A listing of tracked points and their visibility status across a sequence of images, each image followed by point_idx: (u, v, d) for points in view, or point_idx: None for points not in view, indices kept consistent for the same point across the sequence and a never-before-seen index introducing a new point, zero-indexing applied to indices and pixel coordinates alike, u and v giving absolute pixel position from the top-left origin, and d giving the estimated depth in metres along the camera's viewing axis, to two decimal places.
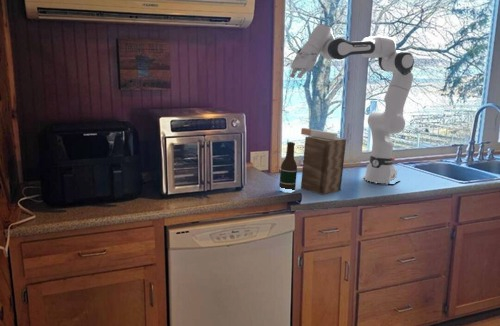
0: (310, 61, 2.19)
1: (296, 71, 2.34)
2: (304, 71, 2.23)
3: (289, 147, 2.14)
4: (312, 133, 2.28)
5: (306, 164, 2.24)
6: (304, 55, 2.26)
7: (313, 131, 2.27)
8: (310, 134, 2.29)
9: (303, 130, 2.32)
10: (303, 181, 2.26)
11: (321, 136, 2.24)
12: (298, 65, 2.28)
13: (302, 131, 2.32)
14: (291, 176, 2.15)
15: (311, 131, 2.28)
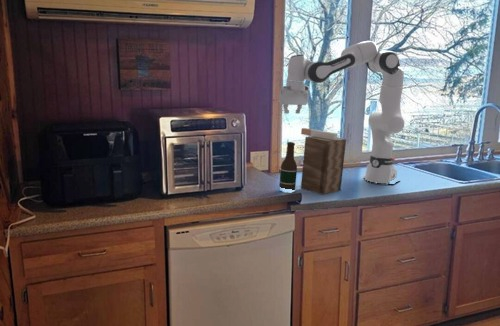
0: (280, 96, 2.29)
1: (300, 106, 2.40)
2: (285, 106, 2.32)
3: (289, 147, 2.14)
4: (312, 133, 2.28)
5: (306, 164, 2.24)
6: None
7: (313, 131, 2.27)
8: (310, 134, 2.29)
9: (303, 130, 2.32)
10: (303, 181, 2.26)
11: (321, 136, 2.24)
12: None
13: (302, 131, 2.32)
14: (291, 176, 2.15)
15: (311, 131, 2.28)
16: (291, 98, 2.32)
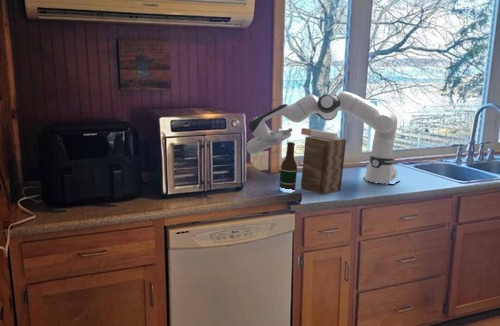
0: (263, 138, 2.40)
1: (286, 130, 2.48)
2: (272, 132, 2.39)
3: (289, 147, 2.14)
4: (312, 133, 2.28)
5: (306, 164, 2.24)
6: (270, 141, 2.47)
7: (313, 131, 2.27)
8: (310, 134, 2.29)
9: (303, 130, 2.32)
10: (303, 181, 2.26)
11: (321, 136, 2.24)
12: (278, 137, 2.45)
13: (302, 131, 2.32)
14: (291, 176, 2.15)
15: (311, 131, 2.28)
16: None
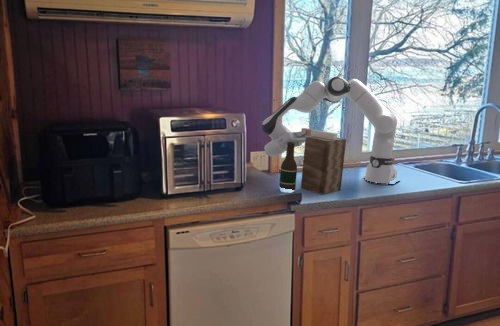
0: (284, 140, 2.30)
1: None
2: (298, 133, 2.31)
3: (289, 147, 2.14)
4: (312, 133, 2.28)
5: (306, 164, 2.24)
6: None
7: (313, 131, 2.27)
8: (310, 134, 2.29)
9: None
10: (303, 181, 2.26)
11: (321, 136, 2.24)
12: (300, 138, 2.35)
13: None
14: (291, 176, 2.15)
15: (311, 131, 2.28)
16: None
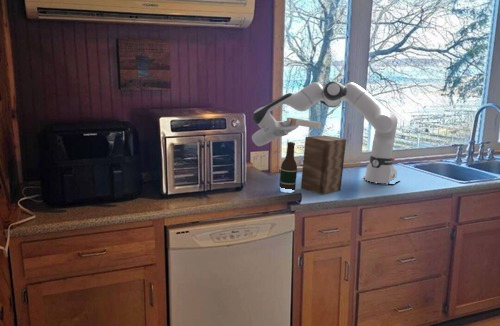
0: (270, 129, 2.36)
1: None
2: (283, 122, 2.37)
3: (289, 147, 2.14)
4: (298, 123, 2.34)
5: (306, 164, 2.24)
6: (277, 132, 2.43)
7: (298, 120, 2.33)
8: (295, 123, 2.35)
9: (288, 119, 2.38)
10: (303, 181, 2.26)
11: (306, 125, 2.30)
12: (286, 127, 2.41)
13: None
14: (291, 176, 2.15)
15: (296, 120, 2.34)
16: None
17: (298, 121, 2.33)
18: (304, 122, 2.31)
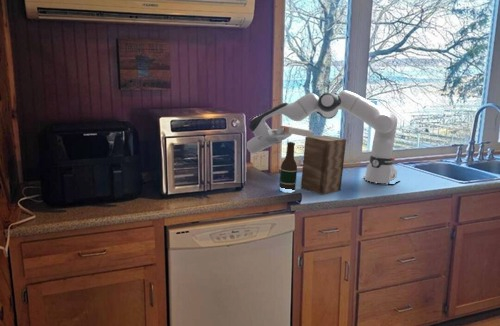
0: (263, 137, 2.39)
1: None
2: (276, 131, 2.41)
3: (289, 147, 2.14)
4: (290, 131, 2.37)
5: (306, 164, 2.24)
6: (270, 140, 2.47)
7: (291, 129, 2.37)
8: (288, 131, 2.38)
9: None
10: (303, 181, 2.26)
11: (298, 133, 2.34)
12: (279, 135, 2.44)
13: None
14: (291, 176, 2.15)
15: (289, 129, 2.38)
16: None
17: (291, 129, 2.37)
18: (297, 130, 2.34)
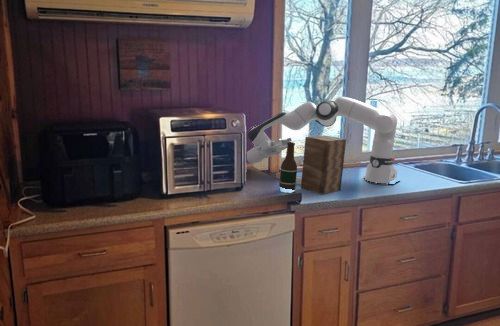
0: (263, 148, 2.40)
1: (285, 140, 2.48)
2: (273, 142, 2.40)
3: (289, 147, 2.14)
4: None
5: (306, 164, 2.24)
6: (270, 151, 2.48)
7: None
8: None
9: (278, 174, 2.46)
10: (303, 181, 2.26)
11: None
12: (278, 146, 2.45)
13: (277, 175, 2.47)
14: (291, 176, 2.15)
15: None
16: None
17: None
18: None
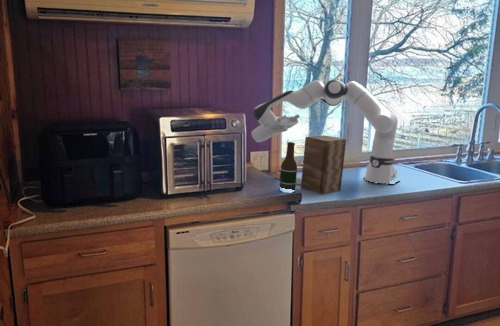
0: (269, 124, 2.36)
1: (293, 117, 2.44)
2: (279, 118, 2.35)
3: (289, 147, 2.14)
4: None
5: (306, 164, 2.24)
6: (277, 128, 2.43)
7: None
8: None
9: (278, 174, 2.46)
10: (303, 181, 2.26)
11: None
12: (285, 123, 2.40)
13: (277, 175, 2.47)
14: (291, 176, 2.15)
15: None
16: None
17: None
18: None
